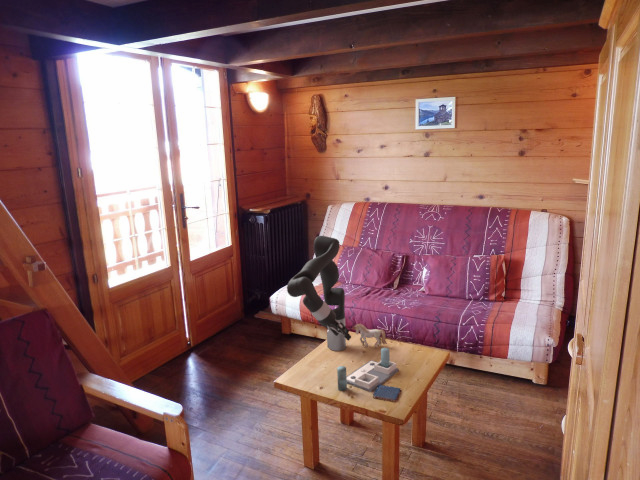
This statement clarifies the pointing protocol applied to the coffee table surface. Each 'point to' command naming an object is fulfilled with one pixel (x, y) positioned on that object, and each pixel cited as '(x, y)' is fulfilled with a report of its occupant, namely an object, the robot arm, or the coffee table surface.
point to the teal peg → (342, 378)
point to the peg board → (373, 373)
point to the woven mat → (387, 393)
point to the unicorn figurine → (370, 335)
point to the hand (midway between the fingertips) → (343, 336)
